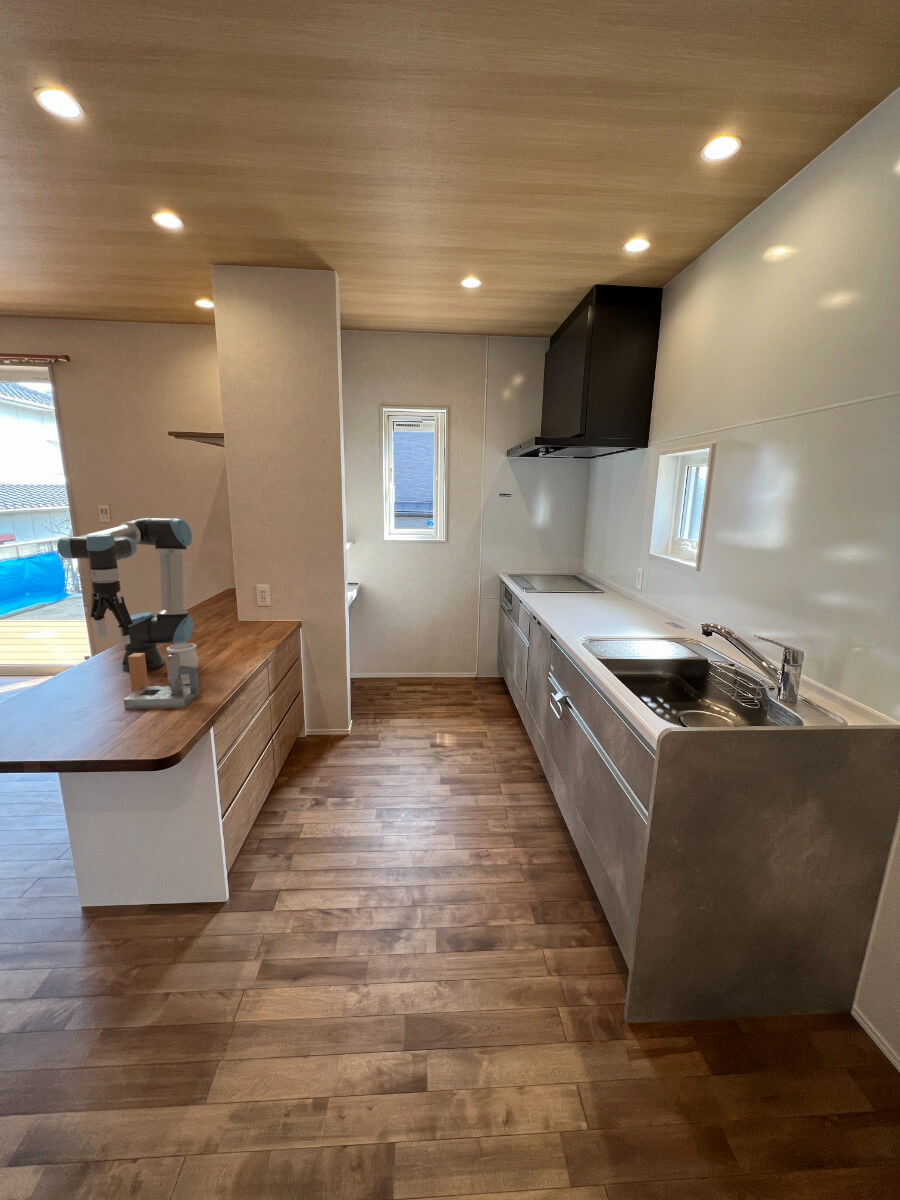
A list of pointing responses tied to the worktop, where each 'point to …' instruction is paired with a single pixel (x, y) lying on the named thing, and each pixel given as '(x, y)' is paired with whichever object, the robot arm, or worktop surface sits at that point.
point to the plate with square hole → (167, 688)
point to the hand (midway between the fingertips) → (114, 641)
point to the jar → (185, 656)
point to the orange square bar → (138, 670)
